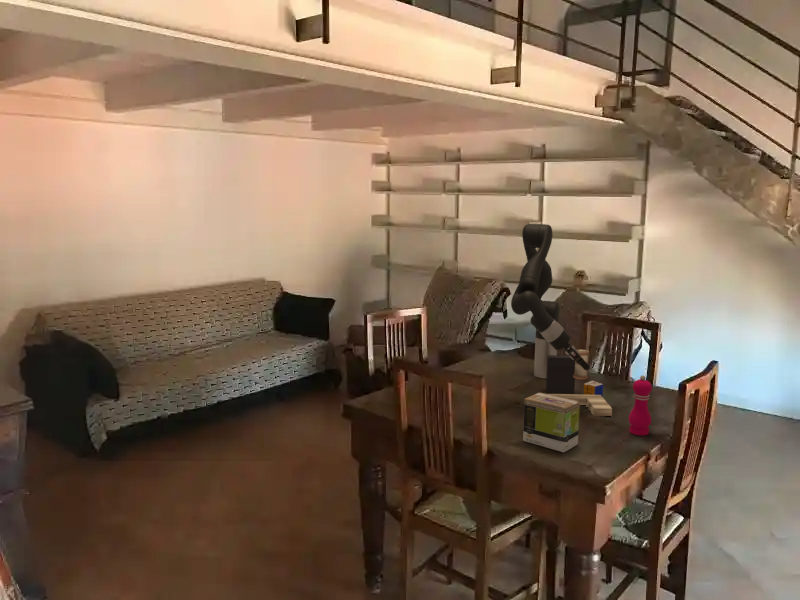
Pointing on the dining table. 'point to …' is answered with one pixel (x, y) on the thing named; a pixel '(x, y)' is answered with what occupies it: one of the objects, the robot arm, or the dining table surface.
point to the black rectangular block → (560, 374)
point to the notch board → (590, 403)
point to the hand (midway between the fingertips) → (586, 366)
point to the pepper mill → (640, 408)
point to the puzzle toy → (593, 388)
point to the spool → (579, 370)
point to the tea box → (551, 421)
